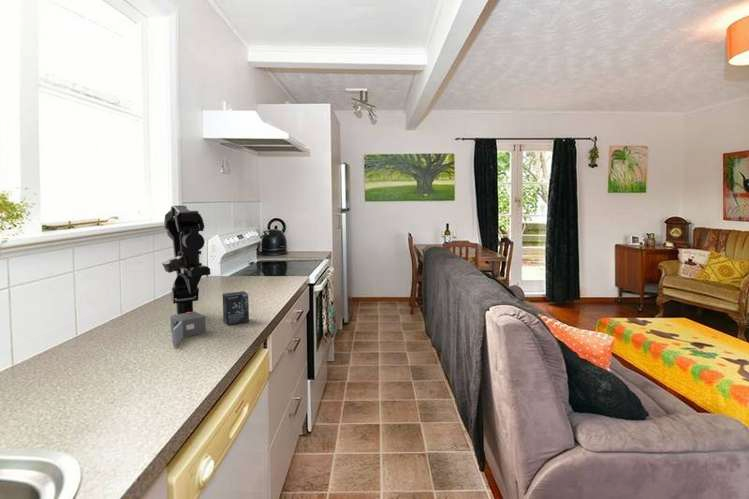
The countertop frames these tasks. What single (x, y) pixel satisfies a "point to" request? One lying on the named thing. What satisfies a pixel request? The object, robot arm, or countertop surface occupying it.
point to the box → (235, 308)
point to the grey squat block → (190, 323)
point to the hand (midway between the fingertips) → (192, 293)
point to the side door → (177, 333)
